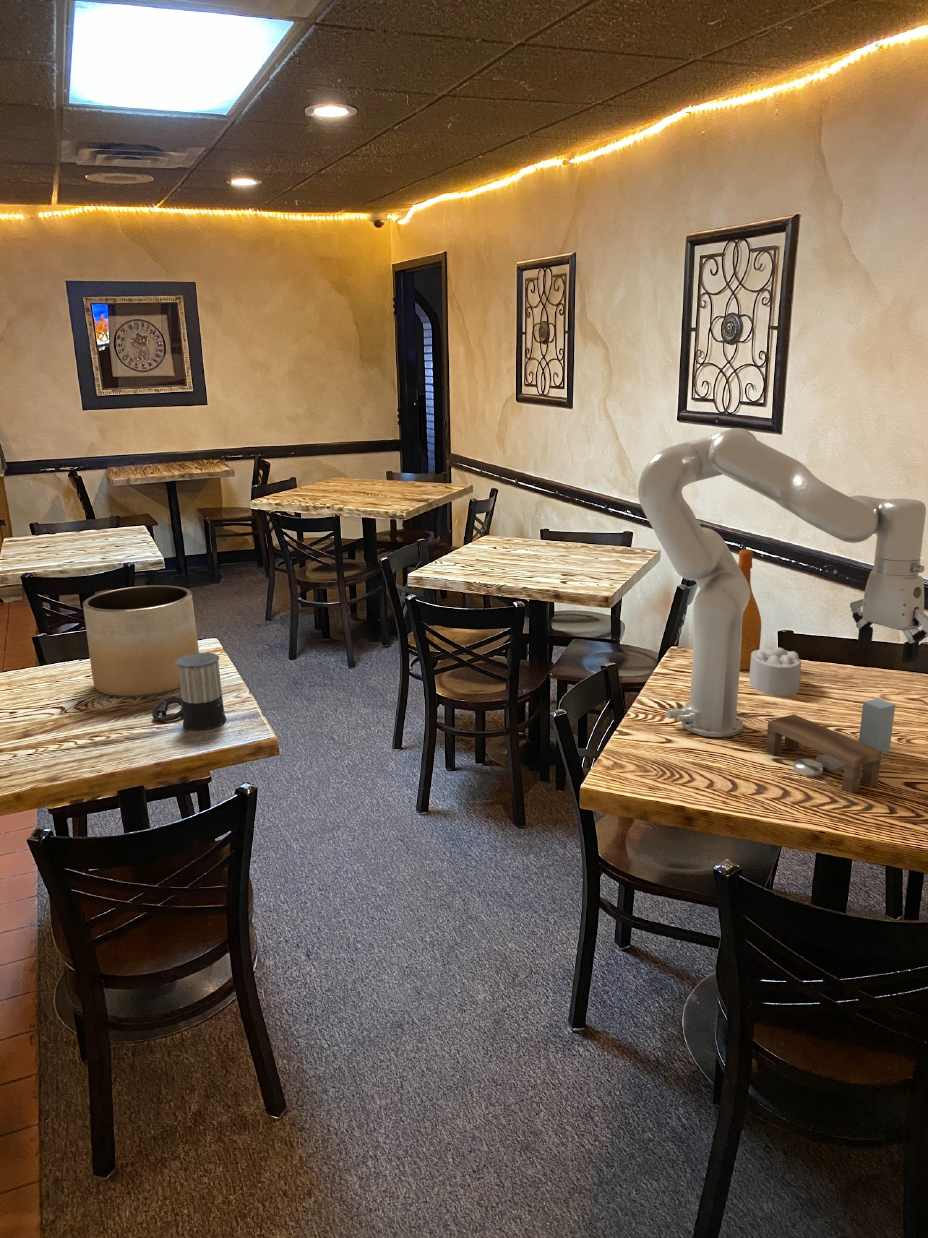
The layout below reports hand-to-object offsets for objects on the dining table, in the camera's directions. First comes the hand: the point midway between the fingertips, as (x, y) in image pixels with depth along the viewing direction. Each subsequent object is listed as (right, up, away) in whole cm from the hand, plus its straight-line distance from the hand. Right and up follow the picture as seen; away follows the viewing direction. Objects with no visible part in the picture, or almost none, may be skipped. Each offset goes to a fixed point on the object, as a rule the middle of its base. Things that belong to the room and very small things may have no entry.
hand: (886, 654), depth 164 cm
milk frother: (-141, -16, +27) cm, 145 cm away
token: (-16, -22, -2) cm, 27 cm away
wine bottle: (-11, -5, +56) cm, 57 cm away
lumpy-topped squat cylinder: (-7, -10, +41) cm, 42 cm away
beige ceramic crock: (-159, -9, +52) cm, 168 cm away
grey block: (-5, -20, +3) cm, 21 cm away
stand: (-13, -21, -1) cm, 25 cm away
